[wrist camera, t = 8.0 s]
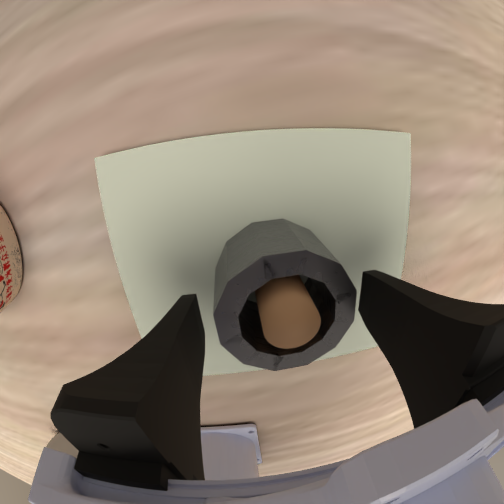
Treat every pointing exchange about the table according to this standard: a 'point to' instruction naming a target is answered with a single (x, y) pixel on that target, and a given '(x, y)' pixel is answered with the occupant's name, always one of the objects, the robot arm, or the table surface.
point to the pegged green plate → (255, 210)
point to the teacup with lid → (9, 262)
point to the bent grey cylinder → (62, 445)
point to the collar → (275, 266)
